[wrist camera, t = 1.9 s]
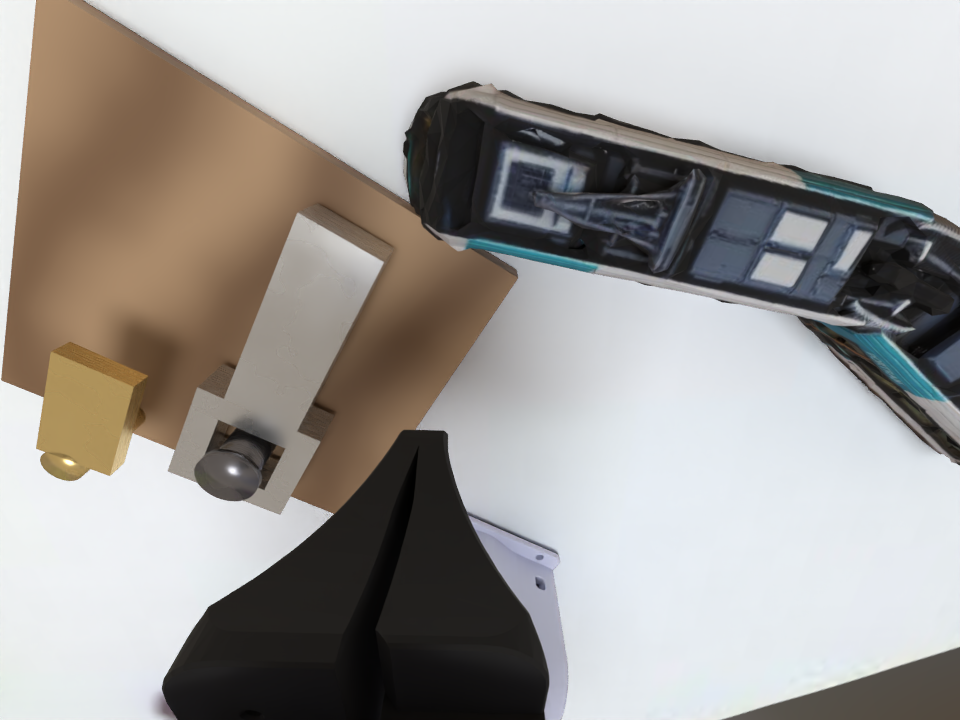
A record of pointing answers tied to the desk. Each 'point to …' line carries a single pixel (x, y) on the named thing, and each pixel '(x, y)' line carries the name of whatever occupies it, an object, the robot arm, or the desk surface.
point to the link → (288, 353)
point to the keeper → (88, 412)
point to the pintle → (234, 466)
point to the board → (212, 246)
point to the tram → (703, 233)
